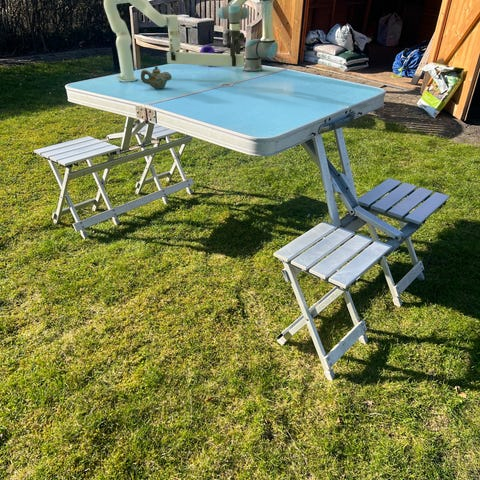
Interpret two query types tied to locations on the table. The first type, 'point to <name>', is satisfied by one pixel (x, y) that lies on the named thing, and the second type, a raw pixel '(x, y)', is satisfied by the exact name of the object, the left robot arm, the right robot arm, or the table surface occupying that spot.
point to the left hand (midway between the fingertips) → (175, 59)
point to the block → (205, 59)
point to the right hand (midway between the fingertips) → (235, 65)
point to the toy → (209, 50)
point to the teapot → (155, 78)
